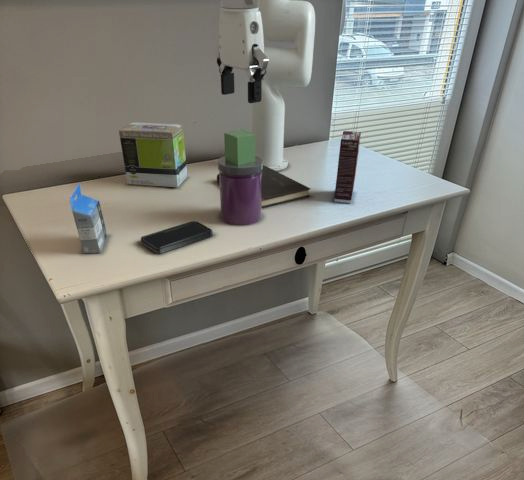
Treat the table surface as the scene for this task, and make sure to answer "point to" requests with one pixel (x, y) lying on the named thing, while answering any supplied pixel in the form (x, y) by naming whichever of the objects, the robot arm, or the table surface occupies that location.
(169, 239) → the phone
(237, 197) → the jar
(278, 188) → the hardcover book
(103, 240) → the label tape box
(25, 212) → the table surface
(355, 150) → the supplement box
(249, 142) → the green block
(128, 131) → the tea box
